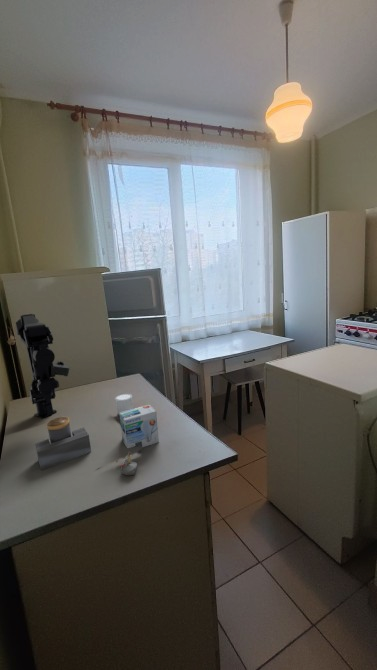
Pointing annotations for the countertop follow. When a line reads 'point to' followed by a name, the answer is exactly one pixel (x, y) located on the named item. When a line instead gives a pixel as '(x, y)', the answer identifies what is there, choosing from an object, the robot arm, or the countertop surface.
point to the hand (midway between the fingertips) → (48, 401)
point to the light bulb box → (139, 426)
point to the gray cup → (58, 429)
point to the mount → (63, 449)
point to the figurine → (128, 466)
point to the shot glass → (124, 402)
